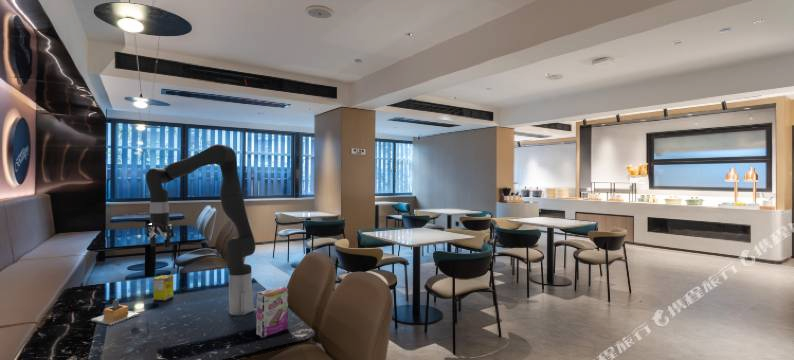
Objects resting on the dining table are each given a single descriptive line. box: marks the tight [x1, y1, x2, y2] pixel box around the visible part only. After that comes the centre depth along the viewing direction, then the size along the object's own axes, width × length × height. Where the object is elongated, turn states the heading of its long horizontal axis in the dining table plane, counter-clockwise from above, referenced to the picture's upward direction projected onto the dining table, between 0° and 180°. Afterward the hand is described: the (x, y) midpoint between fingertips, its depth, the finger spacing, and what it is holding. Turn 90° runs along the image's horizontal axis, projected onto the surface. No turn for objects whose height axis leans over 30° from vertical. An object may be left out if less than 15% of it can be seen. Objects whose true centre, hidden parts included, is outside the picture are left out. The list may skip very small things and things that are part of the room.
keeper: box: [90, 299, 141, 326], centre depth 162 cm, size 12×12×8 cm
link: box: [103, 304, 129, 320], centre depth 162 cm, size 6×6×4 cm
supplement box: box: [152, 274, 174, 302], centre depth 186 cm, size 6×6×11 cm
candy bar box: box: [255, 285, 289, 339], centre depth 149 cm, size 11×5×16 cm, turn 141°
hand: (160, 247), depth 177 cm, fingers open, 8 cm apart
